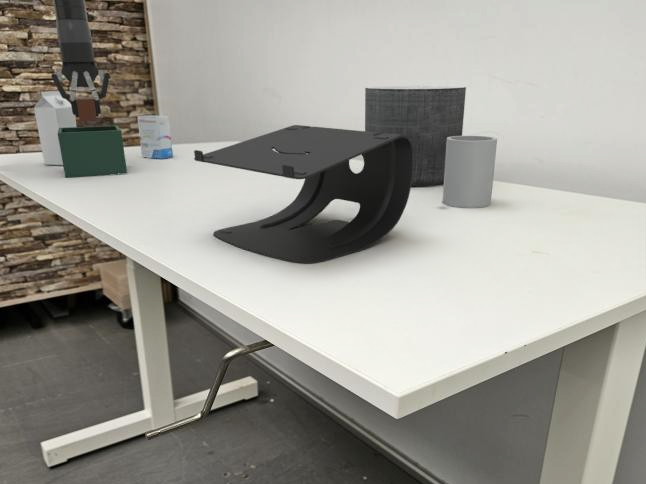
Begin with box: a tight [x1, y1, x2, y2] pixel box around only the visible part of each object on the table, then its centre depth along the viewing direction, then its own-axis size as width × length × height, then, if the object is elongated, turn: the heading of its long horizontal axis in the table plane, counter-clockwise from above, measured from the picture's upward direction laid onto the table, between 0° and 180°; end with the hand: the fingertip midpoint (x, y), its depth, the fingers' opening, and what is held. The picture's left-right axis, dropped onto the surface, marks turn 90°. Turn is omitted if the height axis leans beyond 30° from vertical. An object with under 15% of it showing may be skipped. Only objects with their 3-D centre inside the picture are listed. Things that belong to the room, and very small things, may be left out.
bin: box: [58, 125, 128, 179], centre depth 155 cm, size 15×15×10 cm
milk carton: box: [33, 90, 78, 166], centre depth 166 cm, size 7×7×19 cm
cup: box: [442, 135, 498, 209], centre depth 115 cm, size 9×9×12 cm
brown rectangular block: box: [75, 96, 98, 122], centre depth 151 cm, size 4×10×5 cm, turn 21°
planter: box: [364, 84, 467, 187], centre depth 138 cm, size 22×22×20 cm
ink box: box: [136, 115, 174, 160], centre depth 178 cm, size 9×5×12 cm, turn 59°
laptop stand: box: [193, 124, 413, 264], centre depth 93 cm, size 26×24×16 cm
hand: (87, 116), depth 152 cm, fingers closed on brown rectangular block, 4 cm apart
